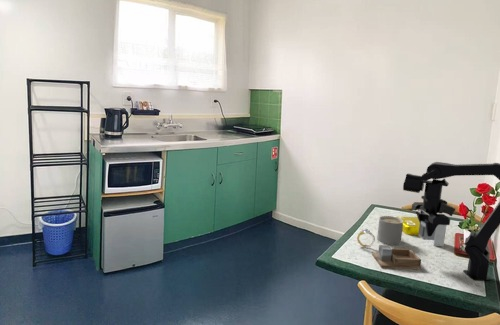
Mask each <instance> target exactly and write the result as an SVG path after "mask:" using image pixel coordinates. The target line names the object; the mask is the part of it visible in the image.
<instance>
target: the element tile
mask: <svg viewBox="0 0 500 325" xmlns="http://www.w3.org/2000/svg"><path fill="white" fill-rule="evenodd" d="M396 217H397V218H400V219H402V220H403V228H402V233H404V234H405V235H407V236H419V234H418V233H419V226H420V222H419V219H418V217H417V216H396Z"/></svg>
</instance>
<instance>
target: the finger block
mask: <svg viewBox="0 0 500 325" xmlns="http://www.w3.org/2000/svg"><path fill="white" fill-rule="evenodd" d="M435 231H436V229H435ZM435 231H434V232H433V234H432V236H428V234H427V229H426V223H425V221H421V224H420V226H419V233H418V234H419V235H418V236H419V238H421V239H422V240H426V241H430V240H434V237H435Z"/></svg>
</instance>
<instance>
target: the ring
mask: <svg viewBox="0 0 500 325" xmlns="http://www.w3.org/2000/svg"><path fill="white" fill-rule="evenodd" d="M365 234H369V235H370V236H371V237H372V242H371V244H363V243H362V242H361V240H360V236H363V235H365ZM356 239H357V242H358V244H359V245H360V246H362V248H365V247H366V248H370V247H372V246H373V245H374V243H375V241H376V239H375V235H374V234H373V233H372V232H371V230H369V229H368V228H365V229H361V231H360V232H359V233H358V234H357V237H356Z"/></svg>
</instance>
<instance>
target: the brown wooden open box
mask: <svg viewBox="0 0 500 325" xmlns="http://www.w3.org/2000/svg"><path fill="white" fill-rule="evenodd" d="M371 257H372V258H374V260H375V261H376V262H377V264H378V265H379V267H380V268H381V269H399V270H400V269H401V270H422V268H423V267H422V259H421V258H420V257H419V256H418V255H416V253H415V252H414V251H413V250H412V249H410V248H391V246H390V245H388V244H378V251H377V252H372V254H371Z"/></svg>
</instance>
